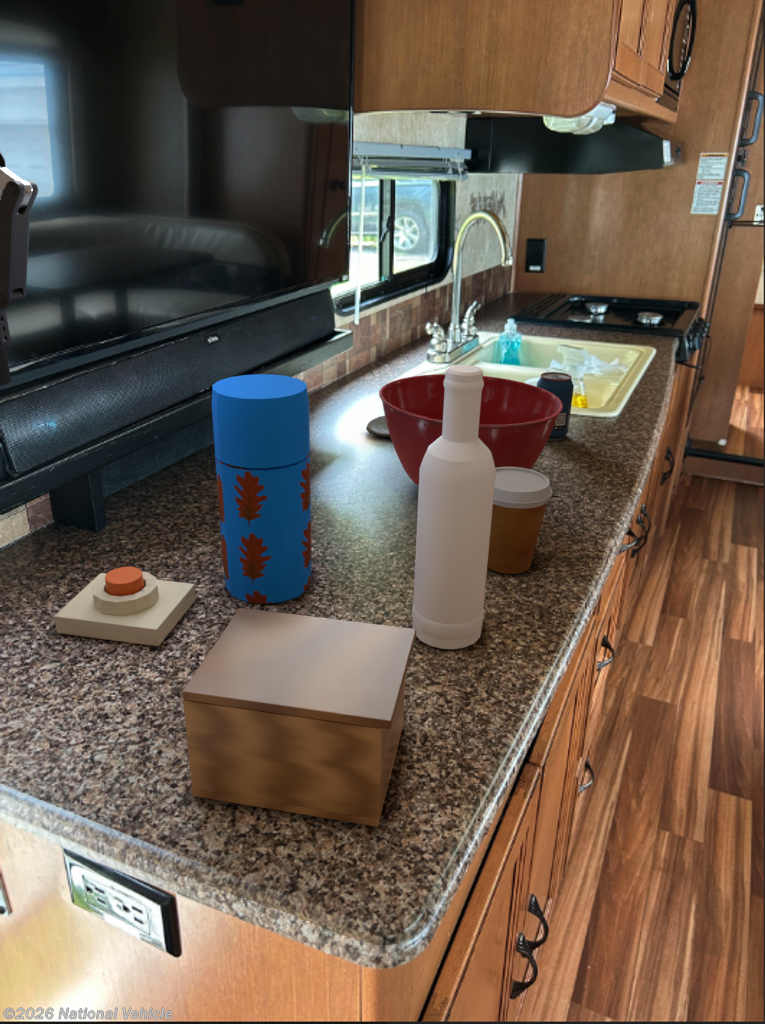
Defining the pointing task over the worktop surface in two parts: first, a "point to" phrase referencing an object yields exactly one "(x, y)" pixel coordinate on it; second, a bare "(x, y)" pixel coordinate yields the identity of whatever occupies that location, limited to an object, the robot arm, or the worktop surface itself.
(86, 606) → the control block
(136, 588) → the button
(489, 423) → the mixing bowl
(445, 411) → the bottle
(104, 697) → the worktop surface
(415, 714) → the worktop surface
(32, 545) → the worktop surface
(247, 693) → the wooden box lid
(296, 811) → the wooden box
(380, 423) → the lid
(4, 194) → the robot arm
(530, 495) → the disposable coffee cup
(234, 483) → the thermos
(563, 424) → the soda can
